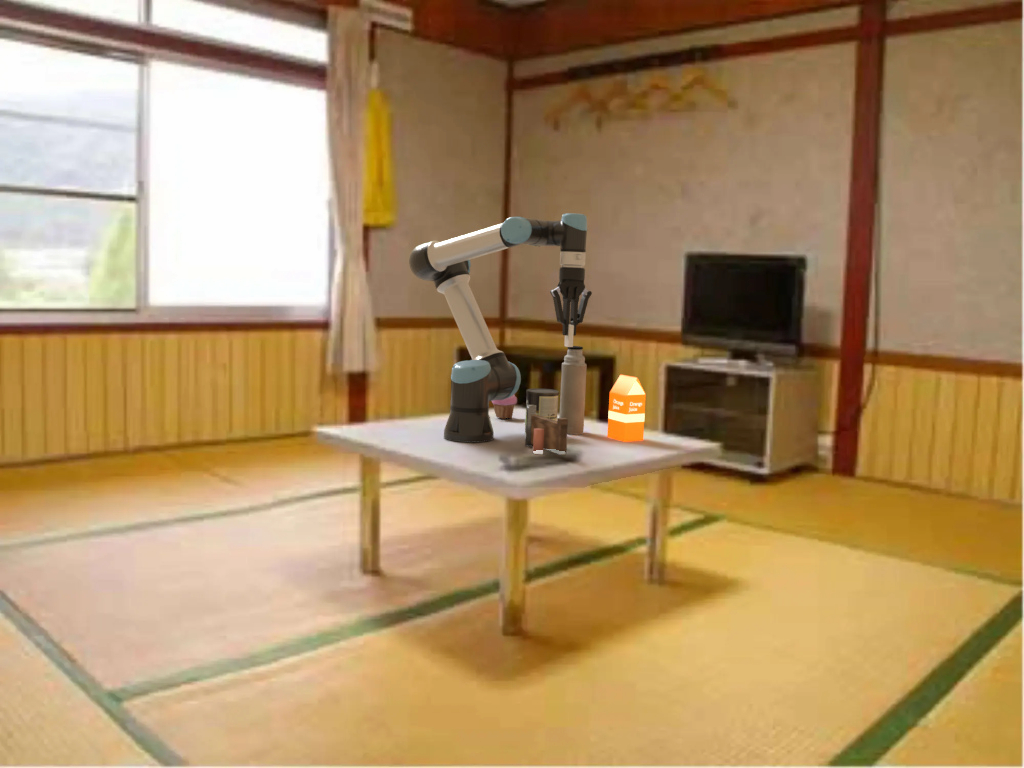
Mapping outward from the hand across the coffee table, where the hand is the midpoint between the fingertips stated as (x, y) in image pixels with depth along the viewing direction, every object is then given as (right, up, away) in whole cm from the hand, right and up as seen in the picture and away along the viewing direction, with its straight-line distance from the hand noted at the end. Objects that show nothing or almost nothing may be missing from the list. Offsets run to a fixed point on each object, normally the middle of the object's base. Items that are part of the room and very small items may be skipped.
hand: (568, 346), depth 280 cm
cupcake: (-20, -23, +49) cm, 58 cm away
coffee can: (-8, -27, +19) cm, 34 cm away
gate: (-7, -30, -11) cm, 32 cm away
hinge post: (-11, -29, -1) cm, 32 cm away
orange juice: (+19, -29, +17) cm, 38 cm away
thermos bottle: (+2, -27, +25) cm, 37 cm away
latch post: (-9, -31, -13) cm, 35 cm away
